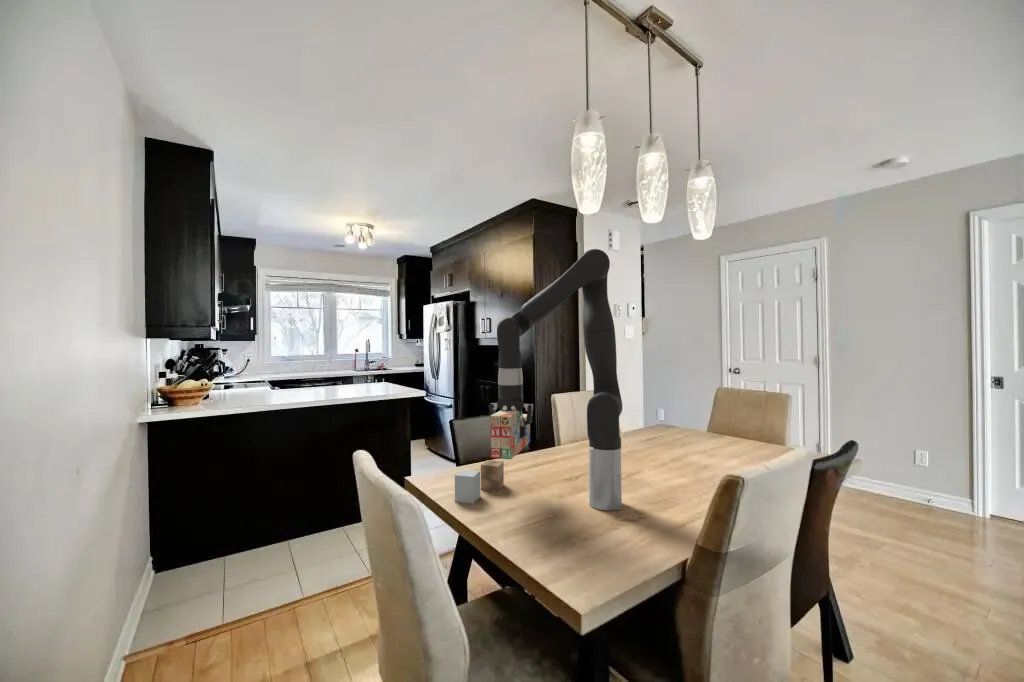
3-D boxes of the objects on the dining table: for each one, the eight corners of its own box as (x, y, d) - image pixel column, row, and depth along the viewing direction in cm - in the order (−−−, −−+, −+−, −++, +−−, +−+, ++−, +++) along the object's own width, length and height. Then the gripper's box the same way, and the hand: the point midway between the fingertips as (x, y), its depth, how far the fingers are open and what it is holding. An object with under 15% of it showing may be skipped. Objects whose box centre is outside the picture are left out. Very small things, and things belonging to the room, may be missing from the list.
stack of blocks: (512, 441, 139) (511, 404, 139) (530, 442, 137) (530, 404, 137) (490, 458, 119) (489, 414, 119) (511, 459, 117) (510, 415, 117)
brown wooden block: (503, 485, 141) (503, 461, 141) (498, 491, 135) (498, 466, 135) (486, 483, 142) (486, 460, 142) (480, 489, 137) (480, 465, 137)
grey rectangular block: (480, 496, 130) (480, 470, 130) (473, 503, 125) (473, 476, 125) (462, 494, 132) (462, 469, 132) (454, 501, 126) (454, 475, 126)
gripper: (536, 382, 129) (536, 436, 129) (492, 381, 133) (492, 434, 133) (530, 384, 122) (531, 441, 122) (484, 383, 126) (485, 439, 126)
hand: (511, 437), depth 128 cm, fingers closed on stack of blocks, 6 cm apart
